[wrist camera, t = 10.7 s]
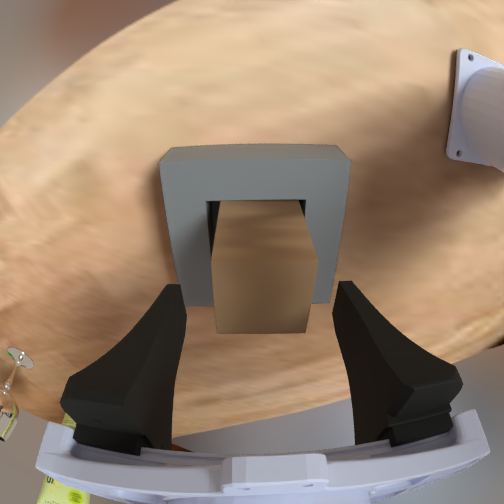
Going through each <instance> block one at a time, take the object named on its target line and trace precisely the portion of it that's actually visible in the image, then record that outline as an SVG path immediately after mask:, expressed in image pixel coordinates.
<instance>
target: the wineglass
mask: <svg viewBox="0 0 504 504" xmlns="http://www.w3.org/2000/svg"><path fill="white" fill-rule="evenodd" d="M7 351H8V354H9V356H10V357H11V358H12V359H13V360H14V361H15V367H14V369H13V371H12V373H11V375H10V377H9V378H8V379H7V380H6V382H5V388H4V389H3V388H1V387H0V440H1V441H4V442H5V441H6V440H7V439H8V437H9V436H10V434H11V433H12V431H13V430H14V428H15V426H16V423H17V421H18V416H19V408H18V405H17V403H16V401H15V399H14V398H13V397H12V395H11V394H10V393H9V392H8V390H9V389H10V388H11V387H12V382H13V378H14V375H15V373H16V371H17V369H18V367H19V366H22V367H25V368H28V369H33V368H34V363H33V361H32V360H31V359H30V358H29V357H28V356H27V355H26V354H25V353H24V352H22V351H21V350H19V349H17V348H14V347H9V348H8V350H7Z"/></svg>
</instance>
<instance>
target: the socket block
mask: <svg viewBox="0 0 504 504" xmlns="http://www.w3.org/2000/svg"><path fill="white" fill-rule="evenodd" d="M159 169H160V176H161V184H162V191H163V198H164V204H165V211H166V217H167V223H168V230H169V235H170V241H171V247H172V253H173V258H174V264H175V269H176V274H177V279H178V284H180V285H181V290H182V295H183V300H184V305H185V306H214V295H213V282H212V268H211V258H212V252H213V245H214V239H215V232H216V226H217V220H218V214H219V208H220V202H221V201H222V200H281V199H298V200H299V203H300V206H301V209H302V212H303V215H304V218H305V221H306V224H307V227H308V230H309V233H310V236H311V239H312V242H313V245H314V249H315V252H316V255H317V258H318V261H319V263H318V269H317V275H316V280H315V286H314V291H313V297H312V302H311V304H318V303H329V302H330V297H331V292H332V287H333V282H334V276H335V271H336V265H337V259H338V254H339V248H340V241H341V235H342V229H343V222H344V215H345V208H346V201H347V193H348V185H349V177H350V169H351V160H350V159H349V158H348V157H347V156H346V155H345V153H344V152H343V151H342V150H341V149H340V148H339V147H338V146H336V145H313V144H228V145H204V146H187V147H173V148H171V149H170V150H169V151H168V152H167V154H166V155H165V156H164V157H163V159H162V160H161V161H160V162H159Z"/></svg>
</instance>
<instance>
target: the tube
mask: <svg viewBox="0 0 504 504" xmlns="http://www.w3.org/2000/svg"><path fill="white" fill-rule="evenodd" d="M76 424H77V423H76V422H75V421H74V420H73V419H72V418H71V417H70V416H69V415H68V414H67V413H65V416H64V419H63V422H62V425H66V426H69V427H71V428H73V429H75V427H76ZM89 502H90V493H88V492H85V491H82V490H78V489H75V488H72V487H69V486H66V485H64V484H62V483H60V482H58V481H56V480H55V479H53V478H51V477H50V476H48V475H45V479H44V482H43V485H42V488H41V491H40V494H39V497H38V500H37V503H36V504H89Z"/></svg>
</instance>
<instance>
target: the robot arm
mask: <svg viewBox="0 0 504 504" xmlns="http://www.w3.org/2000/svg"><path fill="white" fill-rule="evenodd" d="M468 55H469V56H470V60H469V59H468ZM458 150H459V154H458V155H456V153H457V151H458ZM446 155H447V156H448V157H449V158H450V159H453V160H459V161H465V162H471V163H477V164H482V165H487V166H493V167H496V168H497V169H499V170H500V171H502V172H503V173H504V65H502V64H500V63H498V62H496V61H494V60H491V59H489V58H487V57H484V56H482V55H480V54H477V53H475V52H472V51H470V50H467V49H462V48H460V49H458V51H457V62H456V77H455V89H454V99H453V107H452V115H451V123H450V129H449V136H448V142H447V148H446ZM332 315H333V321H334V327H335V333H336V336H337V339H338V343H339V346H340V350H341V353H342V357H343V360H344V363H345V367H346V370H347V375H348V379H349V386H350V392H351V400H352V408H353V419H354V432H355V445H353V446H347V447H340V448H333V449H324V450H315V451H305V452H293V453H275V454H207V453H192V452H179V451H171V438H172V411H173V397H174V386H175V379H176V373H177V369H178V364H179V360H180V355H181V351H182V346H183V342H184V337H185V330H186V320H187V314H186V310H185V305H184V300H183V295H182V290H181V285H180V284H167V285H166V286H165V288H164V289H163V291H162V292H161V293H160V295H159V296H158V298H157V299H156V300H155V302H154V303H153V304H152V306H151V307H150V308H149V310H148V311H147V312H146V313H145V315H144V316H143V317H142V318H141V319H140V321H139V322H138V323H137V324H136V325H135V326H134V328H133V329H132V330H131V331H130V332H129V333H128V334H127V335H126V336H125V337H124V338H123V339H122V340H121V341H120V342H119V343H118V344H117V345H116V346H114V347H113V348H112V349H111V350H110V351H108V352H107V353H106V354H105V355H103V356H102V357H101V358H99V359H98V360H97V361H95V362H94V363H92V364H91V365H89V366H88V367H86V368H84V369H83V370H81V371H79V372H77V373H76V374H74V375H72V376H70V377H69V379H68V381H67V384H66V386H65V389H64V392H63V395H62V398H61V401H60V404H61V407H62V408H63V410H64V411H65V412H66V413H67V414H68V415H69V416H70V417H71V418H72V419H73V420H74V421H75V422H76V423H77V424H76V427H75V429H73V428H71V427H69V426H66V425H62V424H58V423H55V422H51V421H49V422H48V424H47V427H46V430H45V434H44V437H43V440H42V444H41V447H40V450H39V454H38V457H37V461H36V465H35V467H36V468H37V469H38V470H40V471H42V472H43V473H45V474H46V475H48V476H50V477H51V478H53V479H55V480H56V481H58V482H60V483H62V484H64V485H66V486H69V487H72V488H75V489H78V490H82V491H85V492H88V493H91V494H95V495H98V496H101V497H105V498H109V499H112V500H116V501H120V502H123V503H127V504H370V503H373V502H377V501H380V500H384V499H387V498H391V497H394V496H397V495H400V494H403V493H407V492H410V491H412V490H415V489H418V488H421V487H424V486H427V485H429V484H432V483H435V482H437V481H440V480H443V479H445V478H448V477H450V476H453V475H455V474H458V473H460V472H462V471H464V470H465V469H467V468H468V467H470V466H471V465H473V464H475V463H476V462H477V461H479V460H480V459H482V458H483V457H485V456H486V455H487V454H489V453H490V449H489V446H488V443H487V440H486V437H485V434H484V431H483V429H482V426H481V423H480V421H479V418H478V416H477V413H476V410H475V409H472V410H469V411H466V412H463V413H460V414H457V415H455V416H453V417H452V418H451V417H450V414H449V412H451V406H450V404H449V403H450V402H451V401H452V400H453V399H454V398H455V396H456V395H457V394H458V393H459V392H460V390H461V388H462V385H463V382H462V380H461V377H460V375H459V373H458V371H457V369H456V367H455V366H454V365H452V364H450V363H448V362H446V361H444V360H442V359H439V358H438V357H436V356H434V355H432V354H431V353H429V352H427V351H426V350H424V349H423V348H421V347H420V346H418V345H417V344H415V343H414V342H412V341H411V340H410V339H408V338H407V337H406V336H405V335H403V334H402V333H401V332H400V331H399V330H397V329H396V328H395V327H394V326H393V325H392V324H391V323H390V322H389V321H388V320H387V319H385V318H384V317H383V316H382V315H381V314H380V312H379V311H378V310H377V309H376V308H375V307H374V306H373V305H372V304H371V303H370V302H369V300H368V299H367V298H366V297H365V296H364V295H363V293H362V292H361V291H360V290H359V289H358V288H357V287H356V285H355V284H354V283H353V282H352V281H339V284H338V289H337V293H336V298H335V303H334V307H333V312H332Z"/></svg>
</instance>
